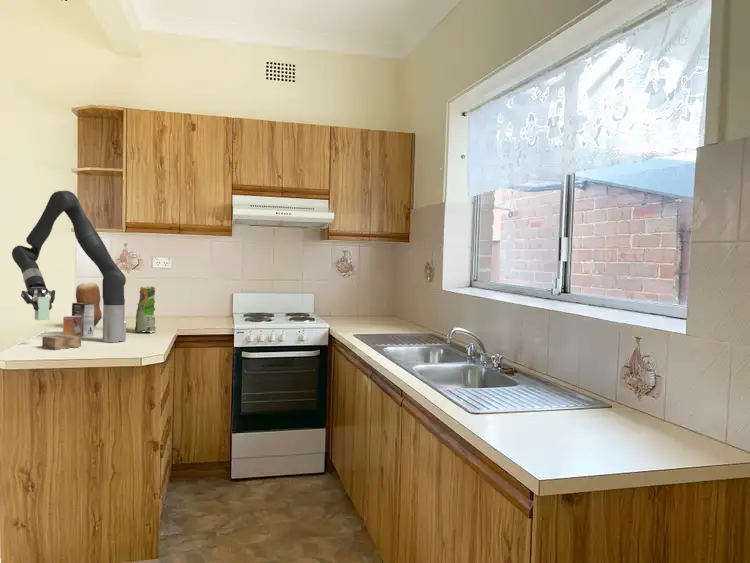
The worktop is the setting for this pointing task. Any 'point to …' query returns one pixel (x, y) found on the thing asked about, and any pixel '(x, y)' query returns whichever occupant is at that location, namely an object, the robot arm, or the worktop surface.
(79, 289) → the butternut squash
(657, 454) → the worktop surface
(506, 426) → the worktop surface
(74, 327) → the small box
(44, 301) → the sage green pillar
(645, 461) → the worktop surface
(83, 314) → the coffee box
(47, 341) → the riser
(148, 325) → the pouch
